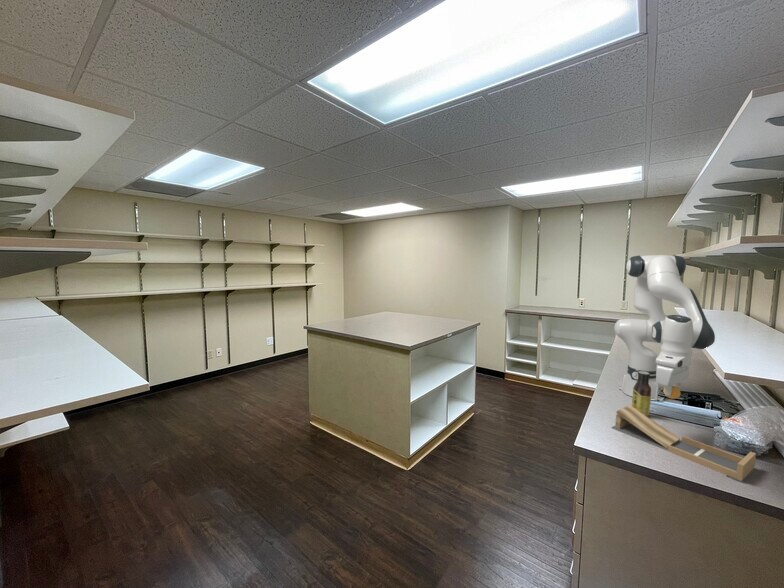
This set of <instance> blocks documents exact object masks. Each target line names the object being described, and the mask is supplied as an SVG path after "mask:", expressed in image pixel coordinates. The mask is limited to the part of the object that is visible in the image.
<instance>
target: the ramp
mask: <svg viewBox="0 0 784 588" xmlns="http://www.w3.org/2000/svg"><path fill="white" fill-rule="evenodd" d="M629 424H633V425H634V426H636V427H637V428H638V429H640V430H641V431H643V432H644V433H645V434H647V435H648V436H650V437H651V438H653V439H654V440H655V441H657V442H658V443H660V444H661V445H663V446H664V447H665V448H668V445H673V444H675V443H676V442H678V441H679V440H681V438H680V437H678V436H677V435H675V434H674V433H672V432H671V431H669V430H667V429H666V428H665V427H663V426H662V425H660V424H659V423H657V422H656V421H654V420H653V419H651V418H650V417H649V416H648V417H647V416H645V415H644V414H642V413H641V412H639V411H638V410H636V409H635V408H633V407H632V405H631V404H629V405H628V406H624V407H623V408H620V409H619V410H617V411H616V415H615V425H614V426H615V427H616V428H619V429H621V428H623V427H625V426H627V425H629Z"/></svg>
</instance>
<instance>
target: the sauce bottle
mask: <svg viewBox="0 0 784 588" xmlns="http://www.w3.org/2000/svg"><path fill="white" fill-rule="evenodd" d="M649 377H650V374H649V373H648V372H645V371H638V381H637V382H636V384H635V386H634V388H633V397H632V396H631V397H632V398H631V399H632V400H631V407H633V408H635V409H636V410H638V411H639V412H641V413H642V414H644V415H645V416H647V417H648V418H649V415H650V410H651V409H650V408H651V401H652V400H651V387H650V386H649V384H648V383H649Z"/></svg>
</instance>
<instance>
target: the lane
mask: <svg viewBox="0 0 784 588" xmlns="http://www.w3.org/2000/svg"><path fill="white" fill-rule="evenodd" d="M610 428H611V429H612V430H615V431H618V432H620V433H622V434H625V435H627V436H630V437H633V438H635V439H637V440H640V441H642V442H644V443H648V444H650V445H652V446H655V447H657V448H659V449H662V450H665V451H666V452H670V453H672V454H674V455H675V456H678V457H681V458H684V459H685V460H689V461H692V462H694V463H696V464H699V465H701V466H702V467H703V466H704V467H706V468H707V469H708V468H709V469H711V470H712V471H715V472H719V473H720V474H723V475H725V476H726V477H727V478H729V479H732V480H734V479H735V481H738V482H739V481H740V483H741V484H743V483H744V482H746V480H748V478H749V477H750V476H751V475H752V474H753V473H754V472H755V471H756V470H757V469H756V468H755V464H756V458H757V457H756V456H757V453H756V452H753V451H750V452H748V453H747V454H746V455H745V456H744V457H742V456H739V455H736V454H733V453H731V452H729V451H727V450H726V451H725V450H724V449H720V448H718V447H714V446H712V445H710V444H709V445H708V444H706V443H703V442H701V441H698V440H695V439H692V438H690V437H687V436H685V435H682V437H681V439H680V440H679V441H678V442H676V443H675V444H673V445H668V448H665V447H664V446H663V445H661V444H660V443H658V442H657V441H655V440H654V439H653V438H651V437H650V436H648V435H647V434H645V433H644V432H643V431H641V430H640V429H638V428H637V427H636V426H634V425H633V424H629V425H627V426H625V427H623V428H621V429H619V428H616V427H615V425H614V426H611V427H610Z"/></svg>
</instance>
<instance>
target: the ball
mask: <svg viewBox="0 0 784 588" xmlns="http://www.w3.org/2000/svg"><path fill="white" fill-rule="evenodd" d="M662 390H663V392H664V394H665V388H664V387H663V388H662ZM672 391H673V392H672V395H671V396H668V395H666V394H665V396H666V398H669V399H673V400H675V399H679V398H680V396H681V395H682V393H681V390H680V388H679V389H678V388H677V387H675V386H673V385H672Z"/></svg>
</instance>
